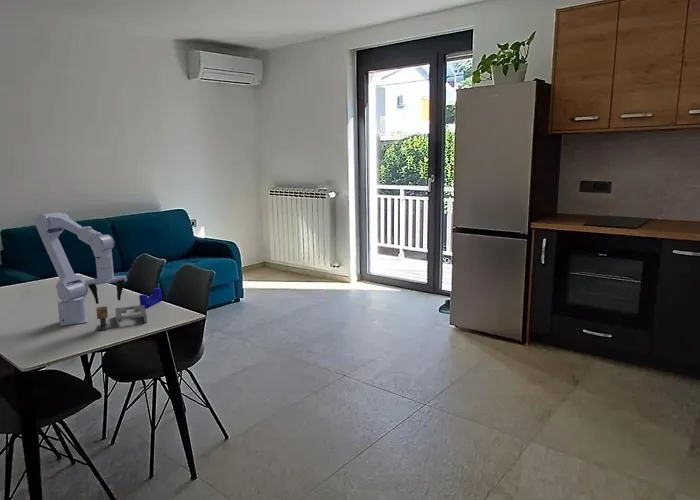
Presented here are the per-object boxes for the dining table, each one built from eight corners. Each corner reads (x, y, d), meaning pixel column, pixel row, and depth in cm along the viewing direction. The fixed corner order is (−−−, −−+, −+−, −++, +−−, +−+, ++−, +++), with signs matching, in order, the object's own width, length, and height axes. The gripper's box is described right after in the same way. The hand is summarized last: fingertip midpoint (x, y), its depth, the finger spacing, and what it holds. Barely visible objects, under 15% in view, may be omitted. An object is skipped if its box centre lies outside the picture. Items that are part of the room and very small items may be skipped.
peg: (96, 331, 191) (94, 310, 189) (96, 327, 195) (94, 307, 194) (111, 329, 193) (108, 308, 191) (111, 325, 198) (108, 305, 196)
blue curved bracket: (153, 300, 231) (152, 288, 230) (162, 301, 230) (161, 288, 229) (137, 308, 219) (136, 295, 218) (146, 309, 219) (145, 295, 217)
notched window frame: (116, 326, 196) (115, 318, 195) (116, 316, 209) (115, 308, 208) (147, 322, 201) (146, 314, 200) (144, 312, 213) (144, 304, 212)
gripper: (84, 271, 185) (88, 307, 188) (127, 266, 193) (130, 300, 196) (82, 268, 191) (86, 302, 194) (123, 263, 199) (126, 296, 201)
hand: (108, 301), depth 195 cm, fingers open, 7 cm apart
